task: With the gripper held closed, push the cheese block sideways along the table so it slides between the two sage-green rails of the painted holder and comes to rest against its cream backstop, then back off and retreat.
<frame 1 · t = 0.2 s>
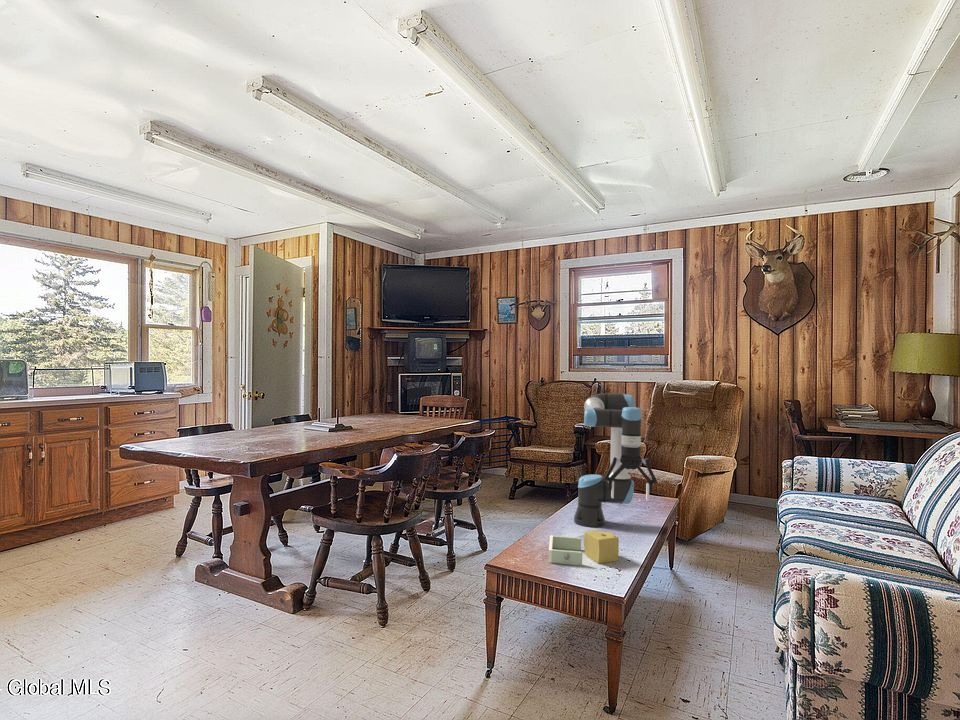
hand: (629, 498, 206), 26 cm above the table, fingers open, 13 cm apart
cheese: (601, 558, 210), on the table
holder: (566, 555, 212), on the table
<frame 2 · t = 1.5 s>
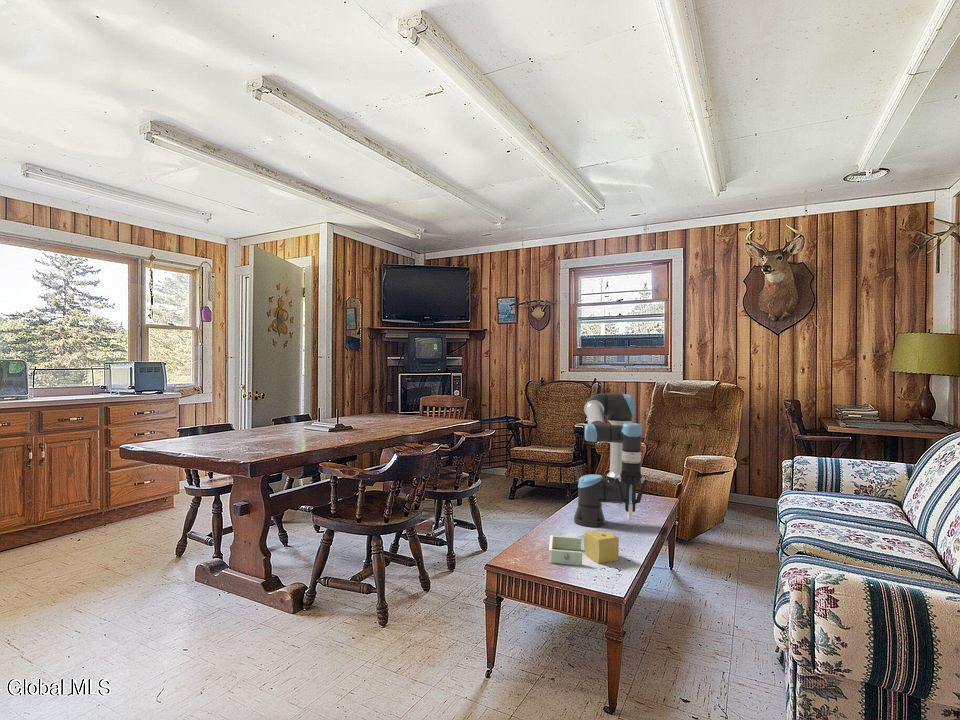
hand: (629, 519, 208), 17 cm above the table, fingers closed
nothing on the table moved.
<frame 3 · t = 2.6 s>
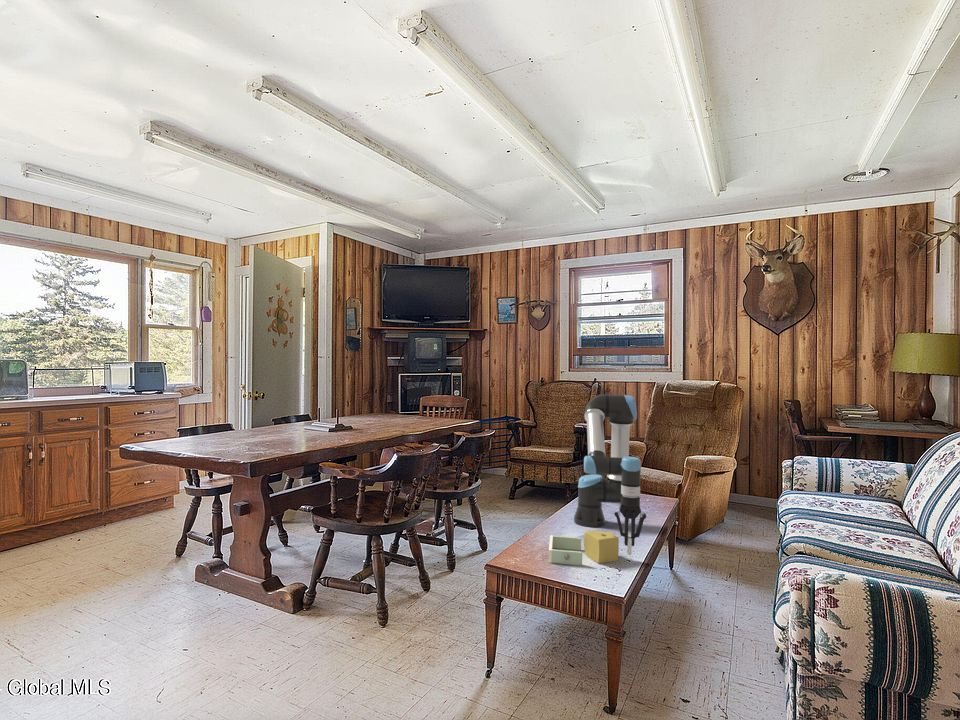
hand: (629, 553, 208), 3 cm above the table, fingers closed
nothing on the table moved.
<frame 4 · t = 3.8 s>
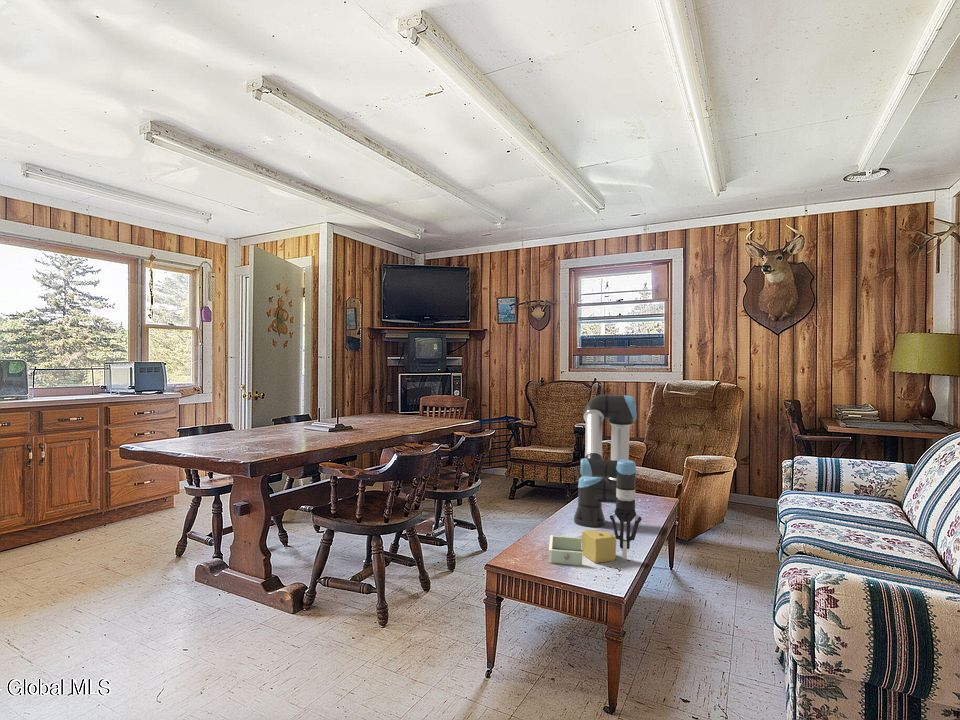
hand: (624, 556, 209), 1 cm above the table, fingers closed
cheese: (598, 558, 210), on the table, touching hand
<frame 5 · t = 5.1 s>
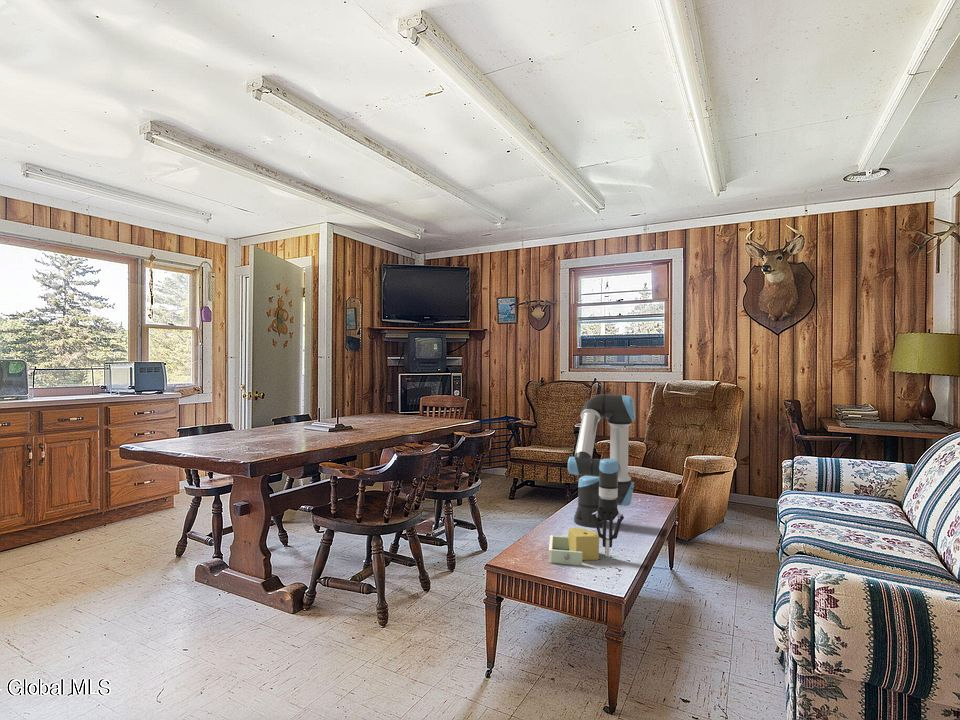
hand: (607, 554, 210), 2 cm above the table, fingers closed
cheese: (583, 556, 212), on the table, touching hand
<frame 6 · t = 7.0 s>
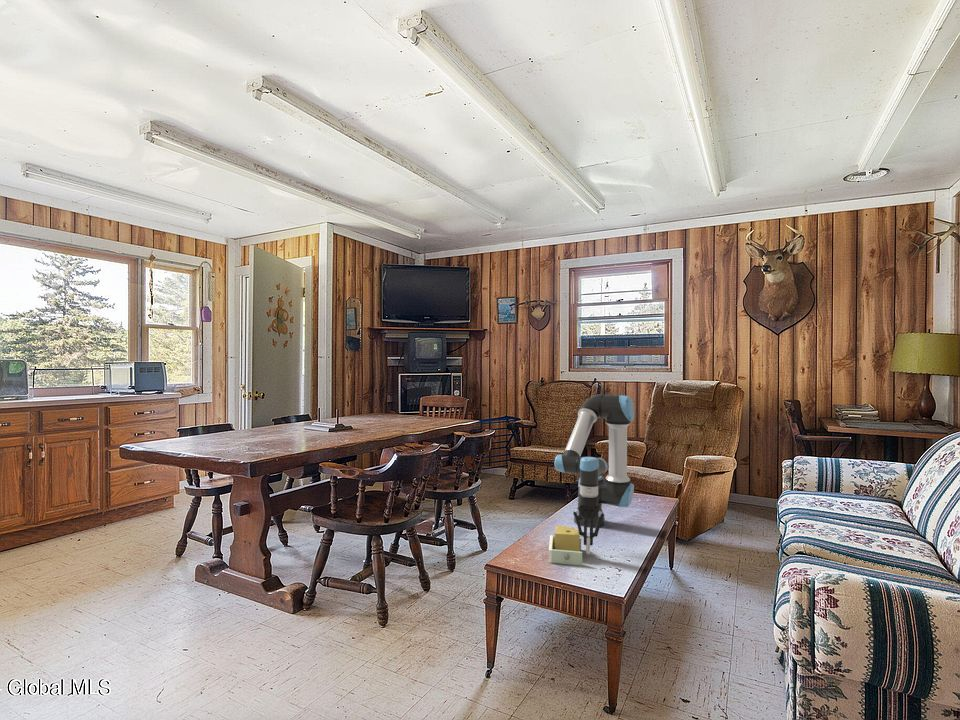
hand: (588, 552, 210), 2 cm above the table, fingers closed
cheese: (567, 554, 214), on the table, touching hand
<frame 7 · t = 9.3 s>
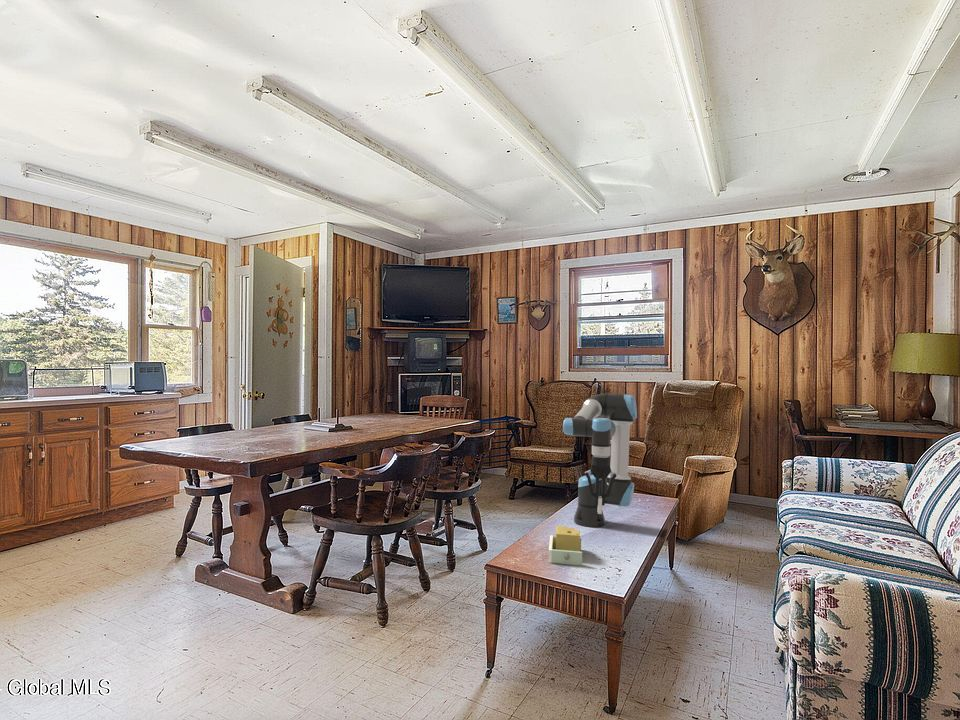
hand: (599, 512, 211), 18 cm above the table, fingers closed
cheese: (567, 554, 214), on the table
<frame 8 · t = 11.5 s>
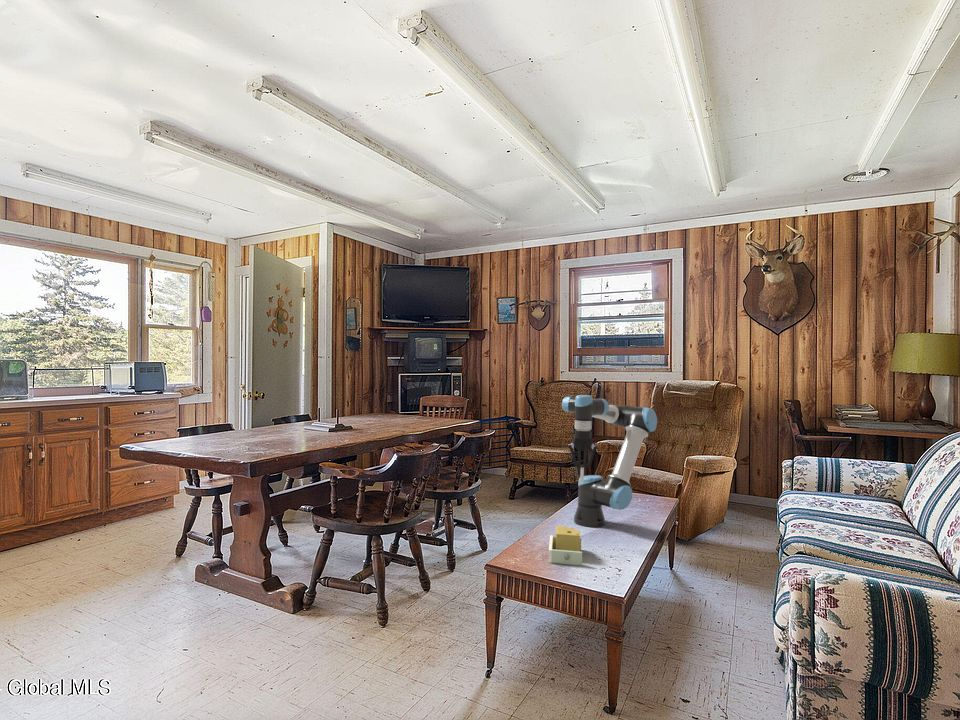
hand: (581, 482, 229), 26 cm above the table, fingers closed
nothing on the table moved.
at the end: cheese inside the target area on the holder (2.1 cm from its centre), point 0.0 cm above the holder's base; cheese tilted 0° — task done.
